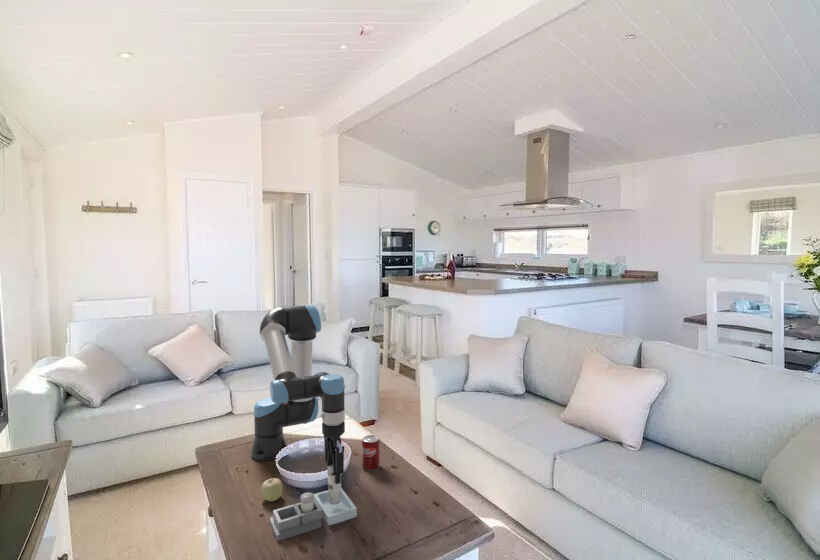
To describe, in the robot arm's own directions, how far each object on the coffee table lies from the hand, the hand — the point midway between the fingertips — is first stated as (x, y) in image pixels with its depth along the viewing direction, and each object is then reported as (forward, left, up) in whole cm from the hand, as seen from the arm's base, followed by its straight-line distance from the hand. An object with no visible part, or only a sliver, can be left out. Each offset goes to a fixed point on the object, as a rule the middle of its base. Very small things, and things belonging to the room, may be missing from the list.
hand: (334, 487), depth 154 cm
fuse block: (+2, -14, -8) cm, 16 cm away
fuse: (0, 0, -5) cm, 5 cm away
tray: (0, 0, -8) cm, 8 cm away
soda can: (-20, +23, -8) cm, 32 cm away
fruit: (-17, -17, -8) cm, 25 cm away
